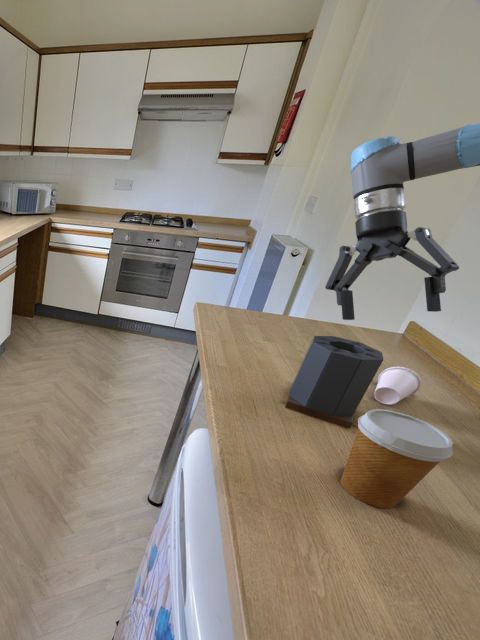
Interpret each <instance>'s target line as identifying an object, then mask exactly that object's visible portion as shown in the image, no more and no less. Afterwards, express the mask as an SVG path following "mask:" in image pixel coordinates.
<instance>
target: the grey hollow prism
mask: <svg viewBox="0 0 480 640" xmlns="http://www.w3.org/2000/svg"><path fill="white" fill-rule="evenodd" d="M339 349H343V350H347V351H349V352H347V351H343V350H339ZM351 352H352V353H351ZM383 355H384V354H383V352H382V351H380V350H378V349H376V348H373V347H371V346H369V345H366V343H363V342H359V341H356V340H352V339H348V338H343V337H341V336H340V337H339V336H335V335H313V338H312V340H311V342H310V344H309V346H308V348H307V351H306V353H305V355H304V358H303V360H302V362H301V364H300V366H299V369H298V371H297V373H296V375H295V377H294V380H293V382H292V383H293V384H292V383H291V385H292V386H291V385H290V387H291V389H290V388H289V390H290V393H289V392H288V393H289V396H291V397H292V398H293V399H295V400H296V401H298V402H299V403H301V404H302V405H303V406H305V407H307V408H310V409H313V410H316V411H319V412H322V413H326V414H329V415H332V416H353V417H354V414H355V412H356V411H357V409H358V407H359V405H360V403H361V401H362V400H363V398H364V396H365V395H366V393H367V391H368V389H369V387H370V385H371V383H372V382H373V380H374V378H375V376H376V374H377V372H378V371H379V369H380V367H381V366H382V363H383V361H384V356H383Z"/></svg>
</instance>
